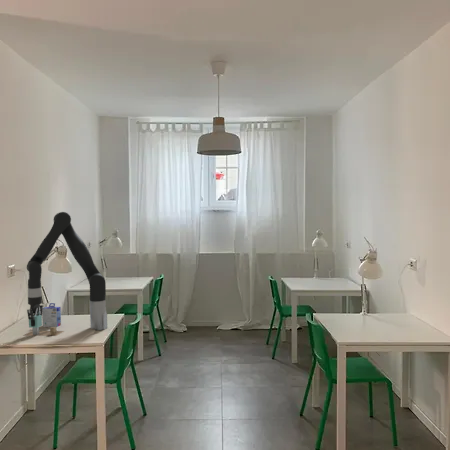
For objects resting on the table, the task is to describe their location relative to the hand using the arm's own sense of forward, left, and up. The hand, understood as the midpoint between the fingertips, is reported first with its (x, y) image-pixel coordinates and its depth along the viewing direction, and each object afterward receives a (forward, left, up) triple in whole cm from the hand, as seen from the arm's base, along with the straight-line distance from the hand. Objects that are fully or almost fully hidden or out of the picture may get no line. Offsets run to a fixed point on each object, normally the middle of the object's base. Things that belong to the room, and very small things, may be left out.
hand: (35, 325), depth 295 cm
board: (-3, -4, -6) cm, 8 cm away
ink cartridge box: (+1, -22, -7) cm, 23 cm away
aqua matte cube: (0, 0, -1) cm, 1 cm away
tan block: (-10, -1, -6) cm, 12 cm away
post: (0, 0, -6) cm, 6 cm away
